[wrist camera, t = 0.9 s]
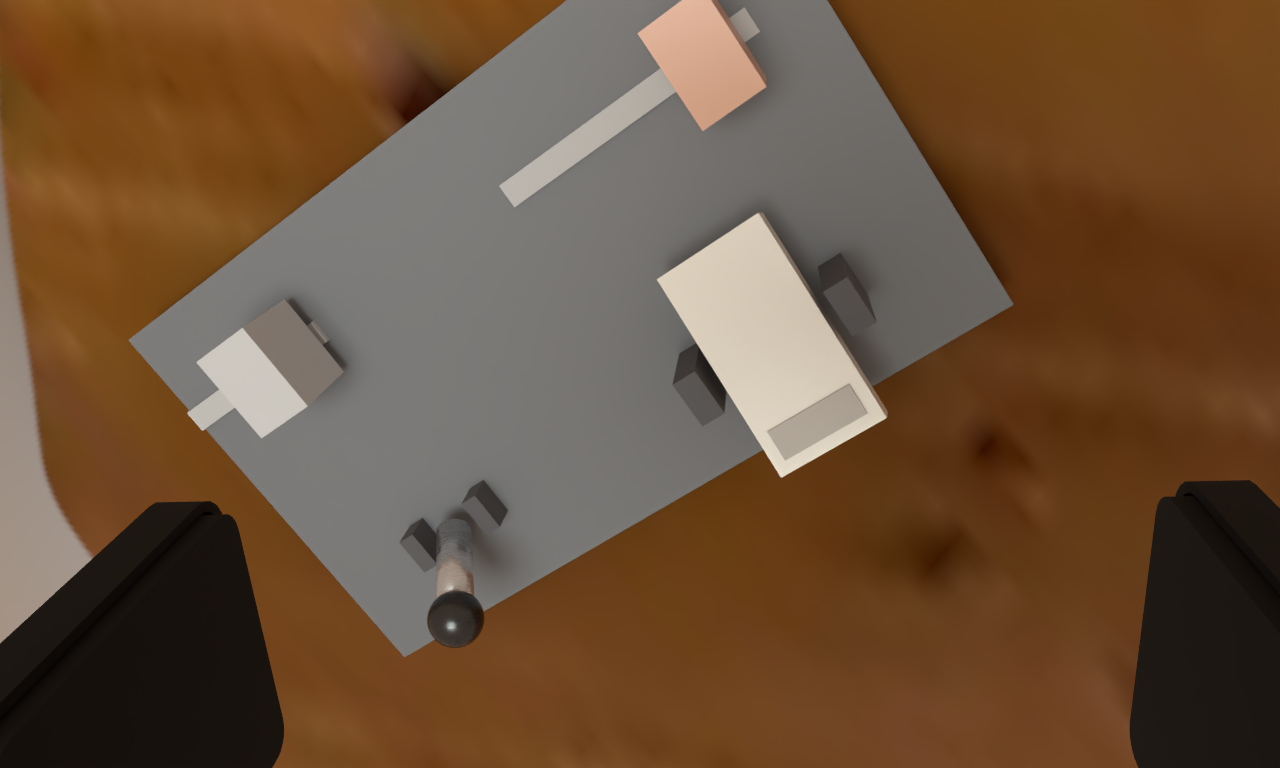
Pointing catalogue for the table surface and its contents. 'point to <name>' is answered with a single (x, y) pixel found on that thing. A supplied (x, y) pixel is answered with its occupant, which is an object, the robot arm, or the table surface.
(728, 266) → the rocker switch
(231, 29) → the table surface
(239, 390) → the slide paddle
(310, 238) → the switch panel
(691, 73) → the slide paddle
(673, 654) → the table surface
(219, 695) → the robot arm
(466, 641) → the toggle lever
